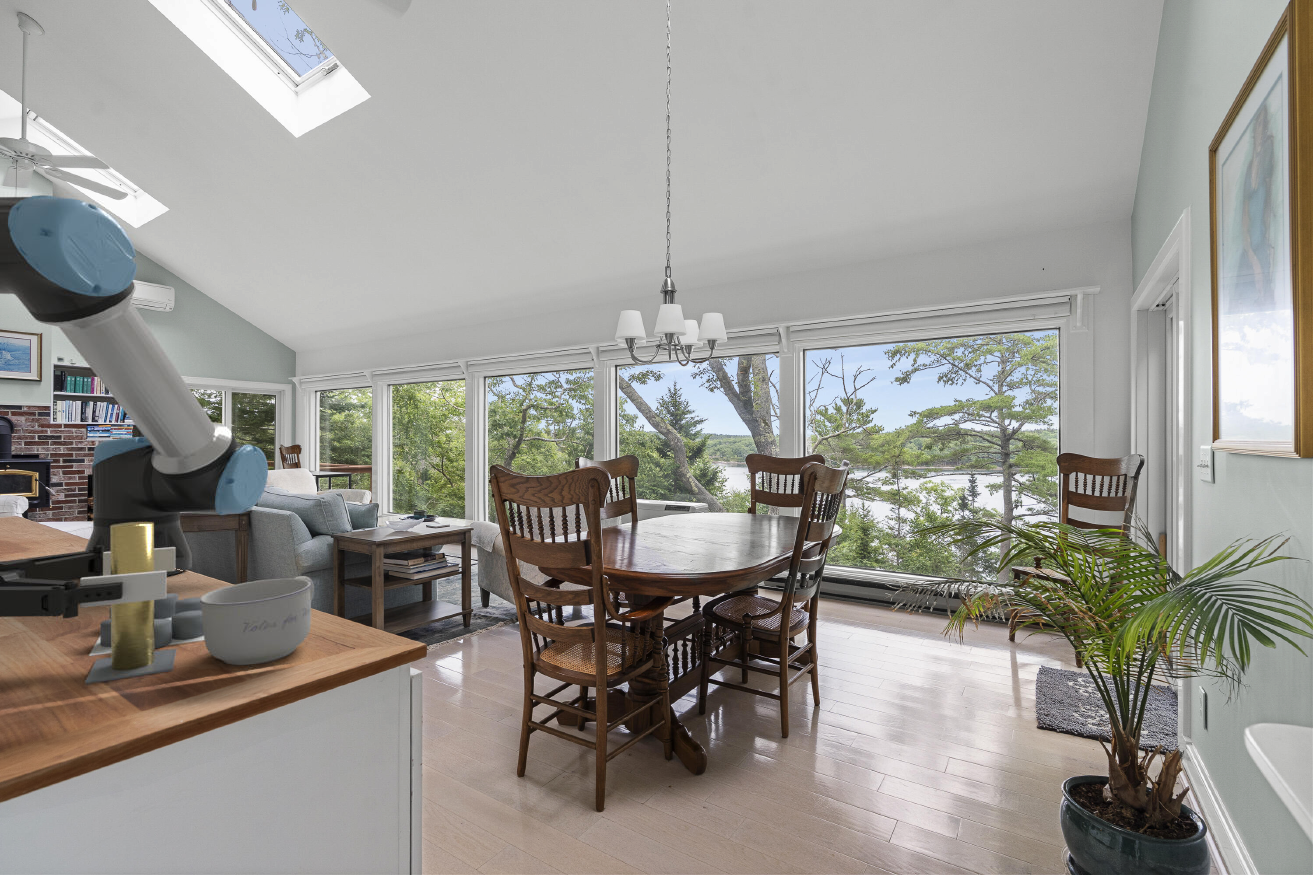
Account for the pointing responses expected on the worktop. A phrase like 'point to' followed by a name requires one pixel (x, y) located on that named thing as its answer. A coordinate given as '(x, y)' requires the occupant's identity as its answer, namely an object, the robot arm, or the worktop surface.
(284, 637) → the teacup
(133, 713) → the worktop surface
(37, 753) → the worktop surface
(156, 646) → the mat
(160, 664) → the slate coaster
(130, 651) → the cylinder
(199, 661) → the worktop surface
